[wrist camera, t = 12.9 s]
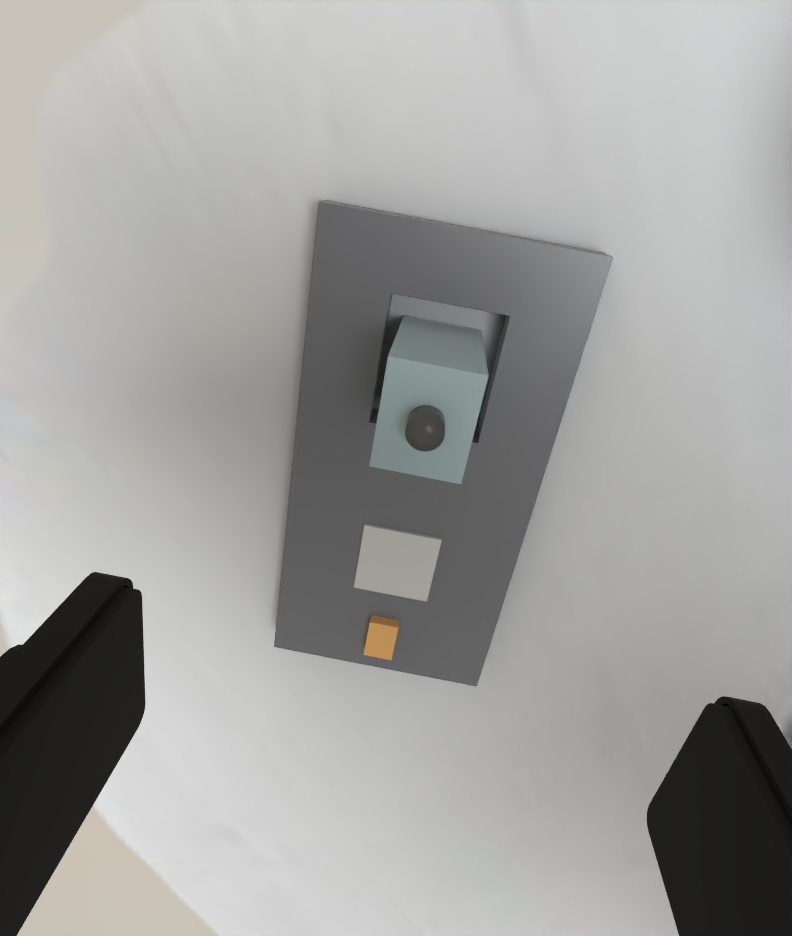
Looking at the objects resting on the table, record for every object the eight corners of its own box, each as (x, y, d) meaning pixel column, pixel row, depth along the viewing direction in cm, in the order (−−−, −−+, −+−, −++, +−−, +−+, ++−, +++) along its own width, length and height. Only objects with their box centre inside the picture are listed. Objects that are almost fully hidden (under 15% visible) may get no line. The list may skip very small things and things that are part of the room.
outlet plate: (475, 665, 36) (476, 694, 34) (281, 628, 36) (271, 654, 34) (603, 253, 25) (616, 259, 23) (326, 200, 25) (315, 201, 23)
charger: (460, 418, 29) (461, 496, 22) (388, 404, 29) (365, 478, 22) (481, 330, 27) (490, 384, 20) (403, 315, 27) (384, 363, 20)
